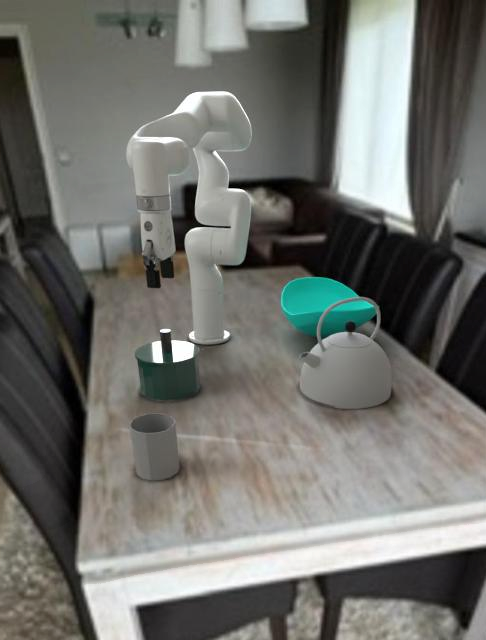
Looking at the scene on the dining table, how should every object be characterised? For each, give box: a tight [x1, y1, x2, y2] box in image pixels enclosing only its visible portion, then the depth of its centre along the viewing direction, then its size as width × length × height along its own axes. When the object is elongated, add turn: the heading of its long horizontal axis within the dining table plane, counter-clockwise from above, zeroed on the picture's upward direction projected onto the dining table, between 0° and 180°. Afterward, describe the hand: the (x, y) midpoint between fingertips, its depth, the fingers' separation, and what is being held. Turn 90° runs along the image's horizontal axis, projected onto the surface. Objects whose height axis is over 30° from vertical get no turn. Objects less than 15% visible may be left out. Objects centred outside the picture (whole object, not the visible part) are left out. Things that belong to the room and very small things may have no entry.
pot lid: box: [134, 328, 201, 365], centre depth 136 cm, size 16×16×6 cm
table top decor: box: [280, 276, 380, 340], centre depth 173 cm, size 40×28×13 cm
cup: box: [129, 412, 180, 481], centre depth 107 cm, size 8×8×10 cm
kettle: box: [299, 296, 393, 410], centre depth 135 cm, size 25×23×22 cm
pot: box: [136, 355, 201, 401], centre depth 140 cm, size 15×15×10 cm
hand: (161, 282), depth 136 cm, fingers open, 9 cm apart
